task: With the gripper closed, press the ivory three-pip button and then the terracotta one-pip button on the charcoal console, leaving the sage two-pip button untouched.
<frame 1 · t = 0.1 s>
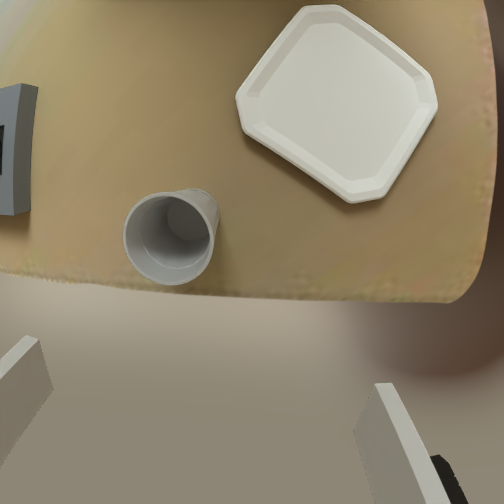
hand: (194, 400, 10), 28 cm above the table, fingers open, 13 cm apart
cup: (193, 214, 37), on the table
plate: (342, 99, 33), on the table
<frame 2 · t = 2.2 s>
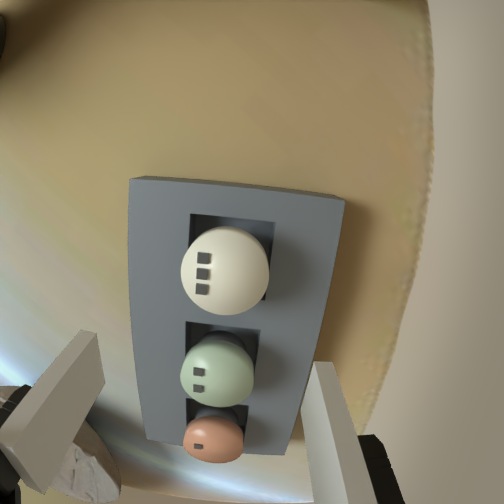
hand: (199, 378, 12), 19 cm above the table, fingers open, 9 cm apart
button three: (227, 265, 25), point 6 cm above the table, slide at 0.0 cm
button two: (218, 366, 28), point 6 cm above the table, slide at 0.0 cm
bowl: (64, 419, 39), on the table
console: (224, 334, 33), on the table
button one: (214, 432, 31), point 6 cm above the table, slide at 0.0 cm
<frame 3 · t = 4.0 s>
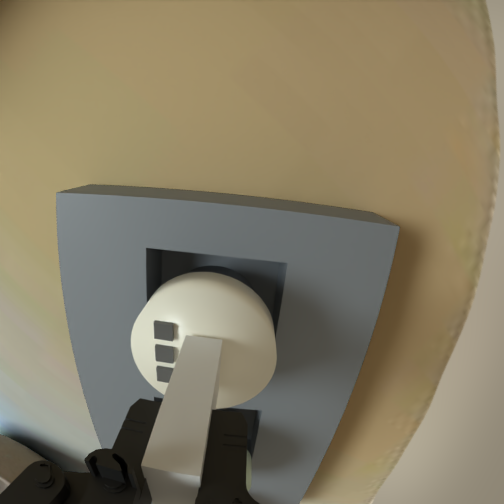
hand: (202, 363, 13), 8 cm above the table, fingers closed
button three: (208, 330, 15), point 5 cm above the table, slide at 0.5 cm, touching gripper
button two: (203, 455, 17), point 6 cm above the table, slide at 0.0 cm
bowl: (37, 461, 29), on the table
console: (211, 400, 23), on the table
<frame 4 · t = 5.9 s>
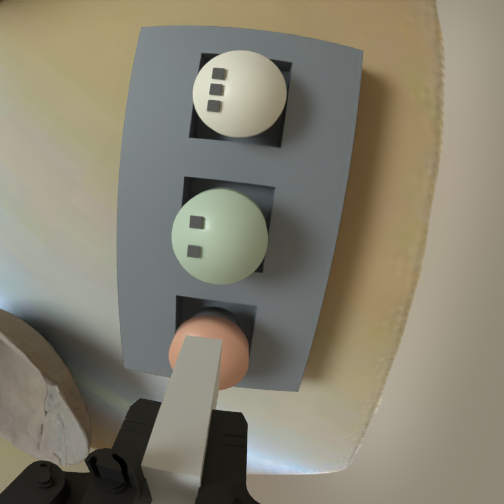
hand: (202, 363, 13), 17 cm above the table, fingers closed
button three: (240, 97, 21), point 4 cm above the table, slide at 1.7 cm
button two: (222, 231, 23), point 6 cm above the table, slide at 0.0 cm
bowl: (34, 358, 34), on the table
console: (228, 215, 28), on the table
button one: (211, 345, 26), point 6 cm above the table, slide at 0.0 cm
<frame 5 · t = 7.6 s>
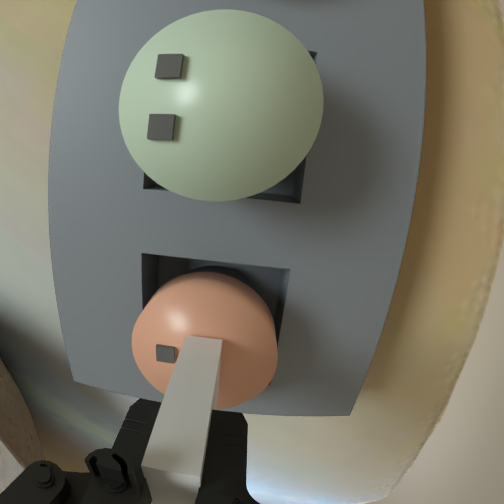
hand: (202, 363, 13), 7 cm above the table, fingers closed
button two: (224, 109, 11), point 6 cm above the table, slide at 0.0 cm
console: (233, 124, 16), on the table
button one: (209, 330, 15), point 4 cm above the table, slide at 1.4 cm, touching gripper
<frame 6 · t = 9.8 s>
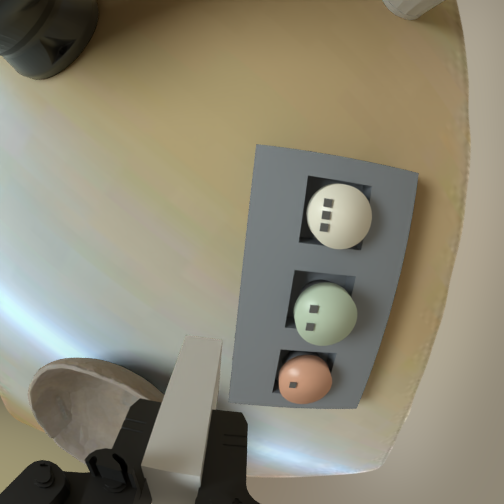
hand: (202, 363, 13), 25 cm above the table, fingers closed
button three: (336, 213, 32), point 4 cm above the table, slide at 1.7 cm
button two: (322, 309, 33), point 6 cm above the table, slide at 0.0 cm
bowl: (125, 397, 44), on the table
console: (314, 289, 38), on the table
button one: (303, 374, 37), point 4 cm above the table, slide at 1.7 cm
cup: (401, 2, 28), on the table
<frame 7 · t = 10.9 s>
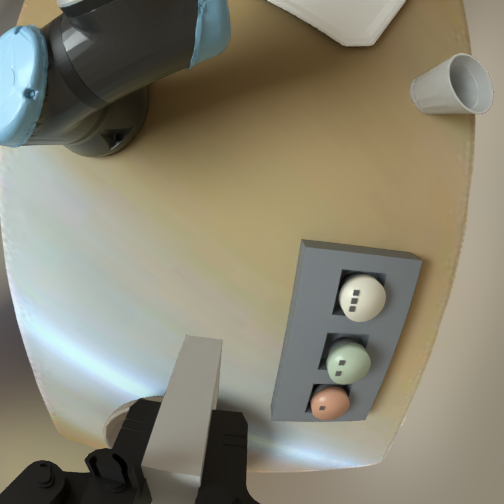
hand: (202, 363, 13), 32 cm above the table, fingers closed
button three: (359, 294, 42), point 4 cm above the table, slide at 1.7 cm
button two: (346, 359, 44), point 6 cm above the table, slide at 0.0 cm
bowl: (181, 418, 55), on the table
console: (338, 339, 49), on the table
button one: (328, 398, 48), point 4 cm above the table, slide at 1.7 cm
cup: (426, 95, 38), on the table
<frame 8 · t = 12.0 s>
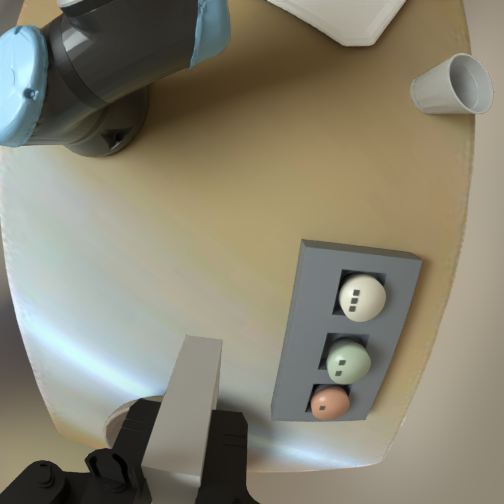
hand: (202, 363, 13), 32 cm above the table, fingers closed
button three: (359, 294, 42), point 4 cm above the table, slide at 1.7 cm
button two: (346, 358, 44), point 6 cm above the table, slide at 0.0 cm
bowl: (181, 418, 55), on the table
console: (338, 339, 49), on the table
button one: (328, 398, 48), point 4 cm above the table, slide at 1.7 cm
cup: (426, 95, 38), on the table
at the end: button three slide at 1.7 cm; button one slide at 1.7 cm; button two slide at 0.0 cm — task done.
